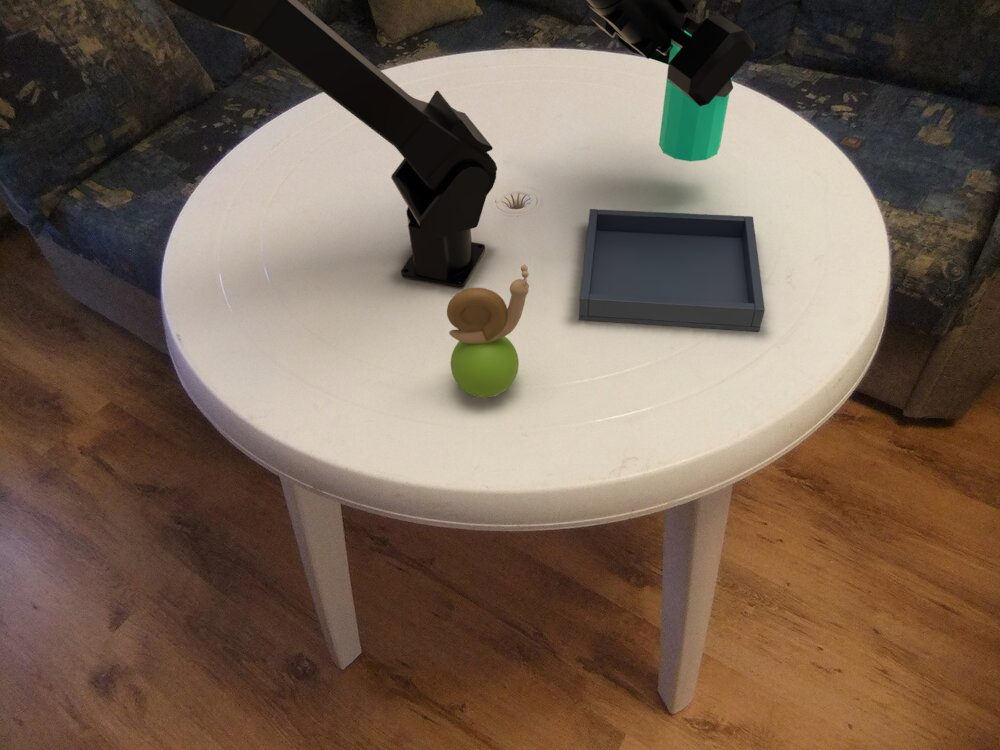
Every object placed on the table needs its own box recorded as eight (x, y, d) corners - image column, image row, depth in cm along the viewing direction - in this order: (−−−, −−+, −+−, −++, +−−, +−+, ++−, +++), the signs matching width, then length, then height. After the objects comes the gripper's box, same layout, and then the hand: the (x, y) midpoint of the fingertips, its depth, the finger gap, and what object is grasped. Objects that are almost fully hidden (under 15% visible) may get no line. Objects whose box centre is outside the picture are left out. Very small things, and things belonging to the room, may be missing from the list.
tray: (578, 320, 71) (579, 298, 69) (588, 229, 80) (589, 208, 78) (759, 331, 69) (765, 309, 67) (748, 237, 78) (753, 216, 76)
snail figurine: (534, 407, 64) (532, 292, 55) (455, 414, 64) (440, 300, 55) (527, 359, 67) (524, 245, 59) (452, 366, 67) (438, 252, 59)
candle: (698, 125, 82) (716, 5, 73) (732, 152, 78) (756, 29, 70) (647, 138, 81) (660, 18, 72) (679, 167, 77) (697, 43, 68)
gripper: (758, -81, 56) (843, 45, 66) (627, -141, 68) (717, -27, 78) (648, 53, 59) (745, 151, 70) (543, -28, 71) (639, 67, 82)
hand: (711, 79), depth 75 cm, fingers closed on candle, 5 cm apart
